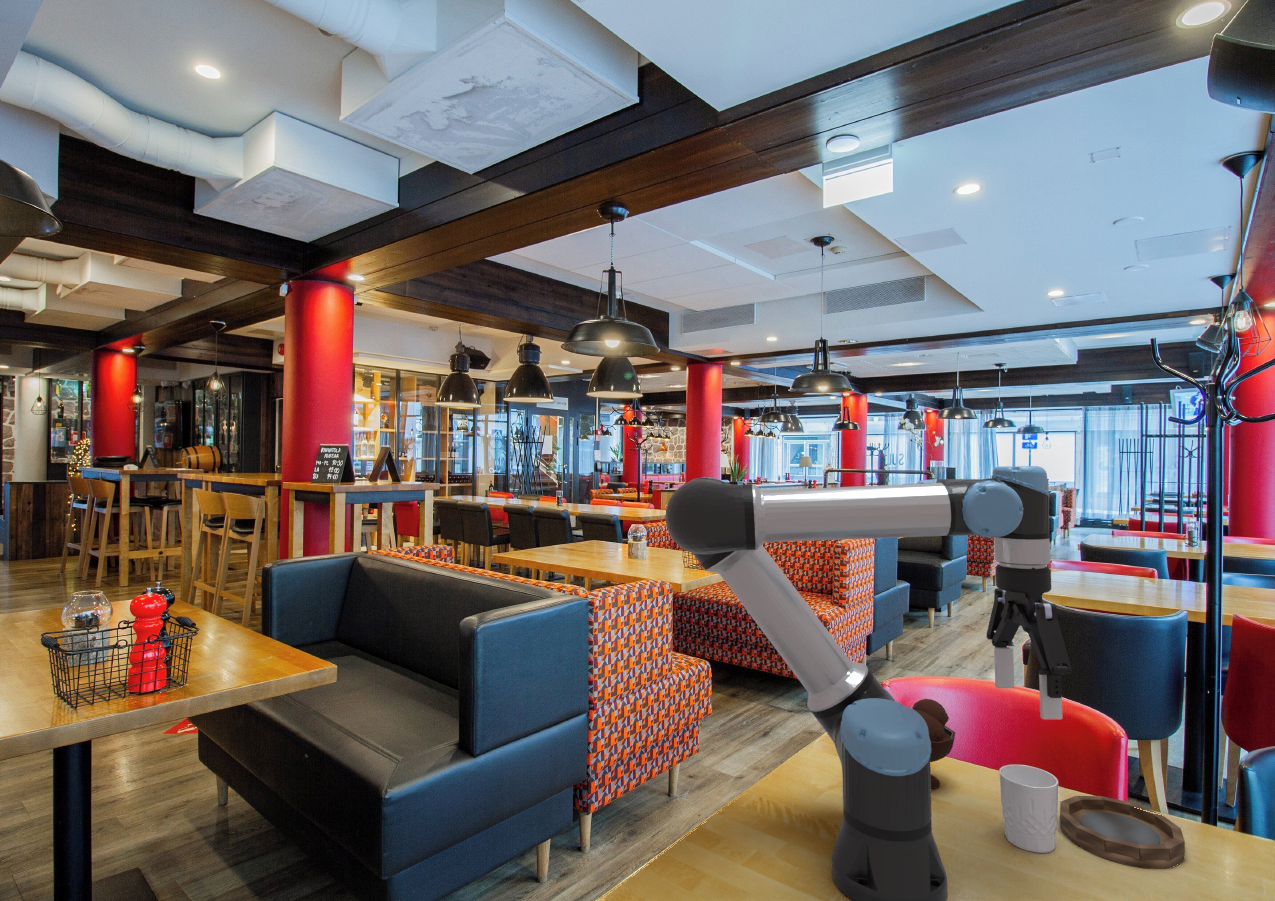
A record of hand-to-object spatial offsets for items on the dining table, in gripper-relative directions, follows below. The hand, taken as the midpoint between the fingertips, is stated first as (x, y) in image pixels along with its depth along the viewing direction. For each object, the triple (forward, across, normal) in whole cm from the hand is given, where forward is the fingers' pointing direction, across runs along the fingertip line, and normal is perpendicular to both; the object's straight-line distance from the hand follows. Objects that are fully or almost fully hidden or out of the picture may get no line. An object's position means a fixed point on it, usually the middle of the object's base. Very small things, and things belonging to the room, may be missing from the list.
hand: (1026, 702), depth 104 cm
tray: (+21, +1, -14) cm, 25 cm away
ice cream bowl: (+21, +19, +9) cm, 30 cm away
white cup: (+21, 0, 0) cm, 21 cm away
